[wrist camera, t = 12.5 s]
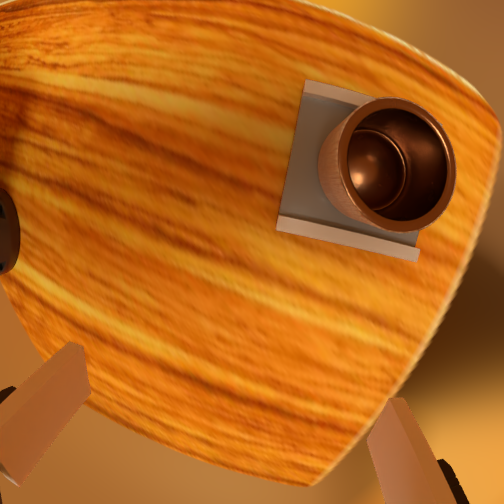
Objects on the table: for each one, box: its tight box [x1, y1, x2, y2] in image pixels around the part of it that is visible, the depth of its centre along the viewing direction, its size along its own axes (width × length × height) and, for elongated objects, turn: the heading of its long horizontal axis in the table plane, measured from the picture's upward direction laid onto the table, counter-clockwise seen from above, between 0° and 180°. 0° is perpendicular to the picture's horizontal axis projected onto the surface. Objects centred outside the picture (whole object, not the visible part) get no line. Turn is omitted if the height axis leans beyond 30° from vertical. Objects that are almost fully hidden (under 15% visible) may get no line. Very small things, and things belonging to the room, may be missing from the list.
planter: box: [318, 97, 456, 233], centre depth 24 cm, size 11×11×10 cm
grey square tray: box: [276, 79, 442, 262], centre depth 29 cm, size 16×16×3 cm
